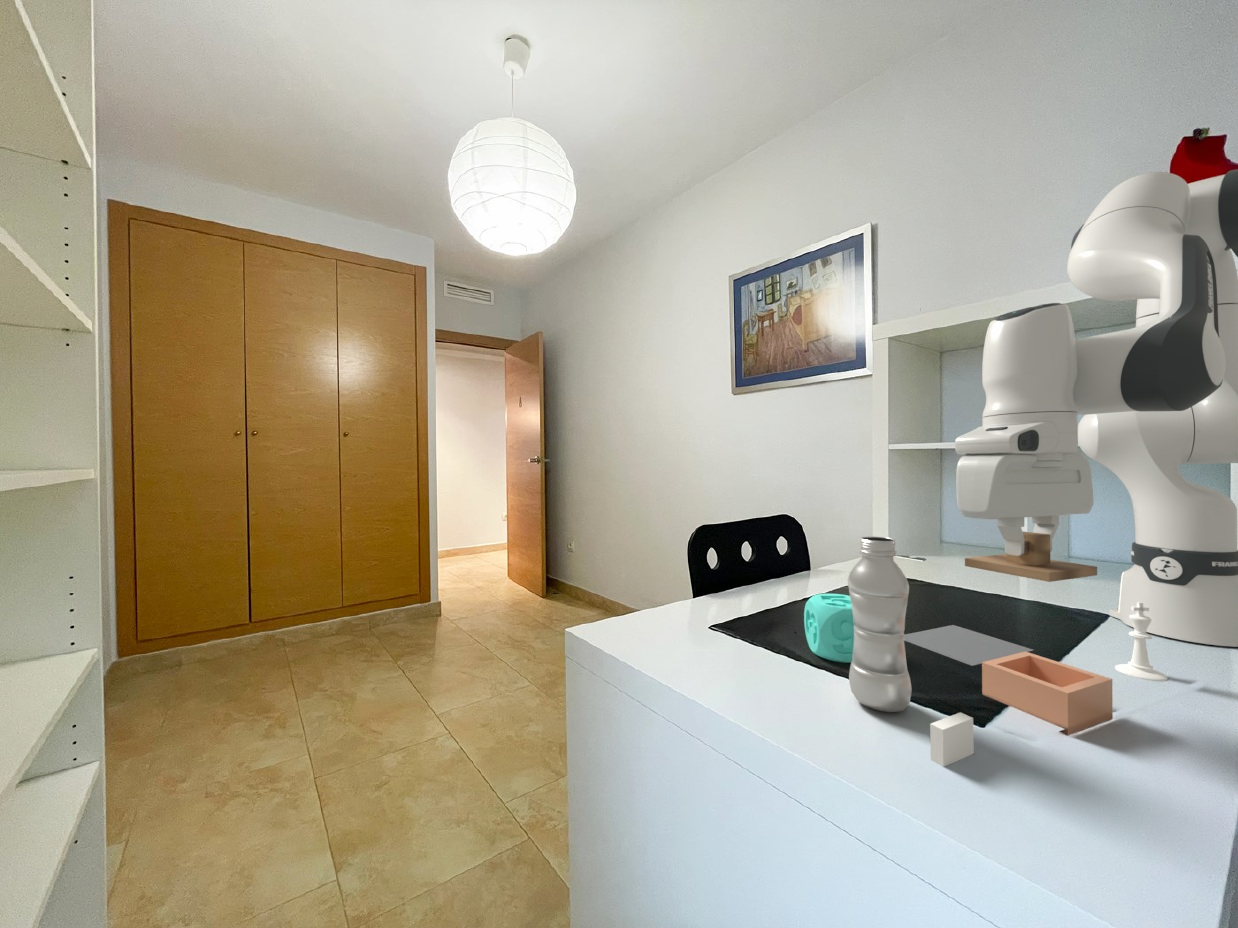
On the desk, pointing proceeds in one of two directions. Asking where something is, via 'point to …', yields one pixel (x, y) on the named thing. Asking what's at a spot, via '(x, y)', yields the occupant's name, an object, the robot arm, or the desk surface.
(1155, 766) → the desk surface
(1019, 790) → the desk surface
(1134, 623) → the chess piece
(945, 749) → the eraser
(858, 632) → the plastic bottle
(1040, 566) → the lid
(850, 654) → the decorative dice
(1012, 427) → the robot arm
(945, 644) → the mat
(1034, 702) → the dish
